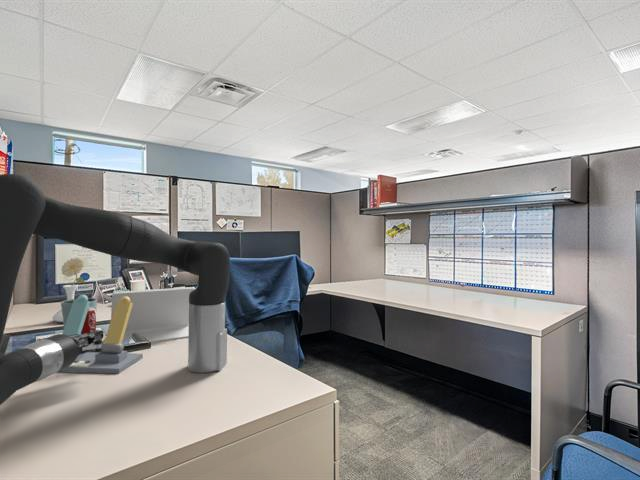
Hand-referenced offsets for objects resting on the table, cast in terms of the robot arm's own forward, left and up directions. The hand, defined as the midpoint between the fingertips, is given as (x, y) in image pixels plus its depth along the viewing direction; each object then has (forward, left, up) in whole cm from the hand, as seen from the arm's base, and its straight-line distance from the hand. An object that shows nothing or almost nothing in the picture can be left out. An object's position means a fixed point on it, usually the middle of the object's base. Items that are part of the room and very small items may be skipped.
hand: (100, 334), depth 89 cm
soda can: (+16, -18, -10) cm, 26 cm away
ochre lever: (0, -4, -6) cm, 7 cm away
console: (+6, -5, -9) cm, 12 cm away
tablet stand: (+3, -32, -10) cm, 33 cm away
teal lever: (+12, -4, -6) cm, 14 cm away
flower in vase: (+42, -47, -10) cm, 64 cm away
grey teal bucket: (+26, -29, -10) cm, 40 cm away
